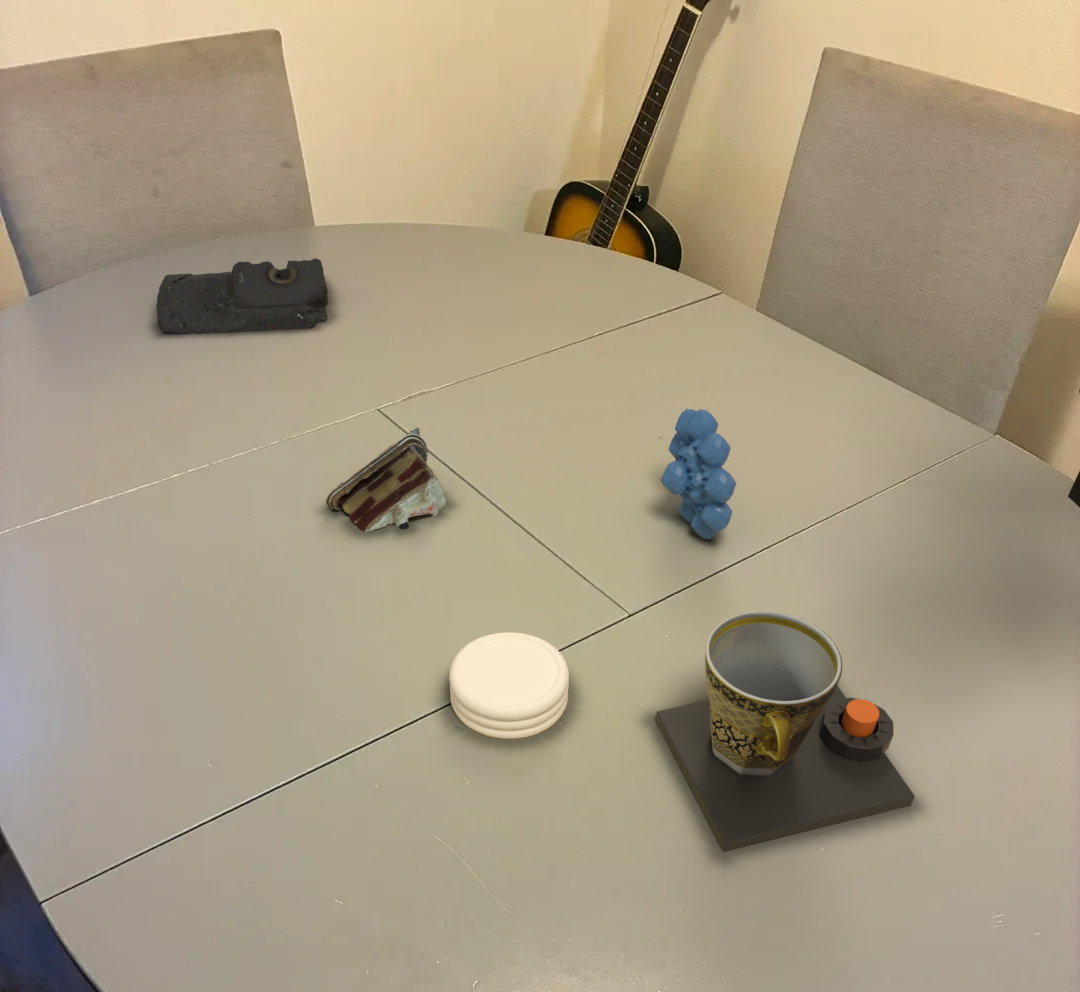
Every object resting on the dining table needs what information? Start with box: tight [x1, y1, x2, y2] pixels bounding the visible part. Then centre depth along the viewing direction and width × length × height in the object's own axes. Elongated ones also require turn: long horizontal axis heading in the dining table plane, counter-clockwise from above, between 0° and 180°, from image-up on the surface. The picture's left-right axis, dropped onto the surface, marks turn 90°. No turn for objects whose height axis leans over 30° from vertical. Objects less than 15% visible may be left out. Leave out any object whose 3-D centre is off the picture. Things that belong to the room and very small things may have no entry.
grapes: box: [660, 408, 737, 540], centre depth 101 cm, size 12×7×12 cm, turn 18°
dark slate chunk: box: [155, 257, 329, 335], centre depth 134 cm, size 15×22×5 cm
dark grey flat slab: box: [655, 685, 916, 853], centre depth 83 cm, size 17×14×3 cm
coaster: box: [448, 631, 570, 740], centre depth 87 cm, size 10×10×4 cm
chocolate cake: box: [325, 427, 447, 533], centre depth 105 cm, size 10×7×12 cm
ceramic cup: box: [704, 610, 843, 776], centre depth 78 cm, size 13×10×10 cm
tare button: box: [842, 698, 879, 737], centre depth 82 cm, size 3×3×2 cm
